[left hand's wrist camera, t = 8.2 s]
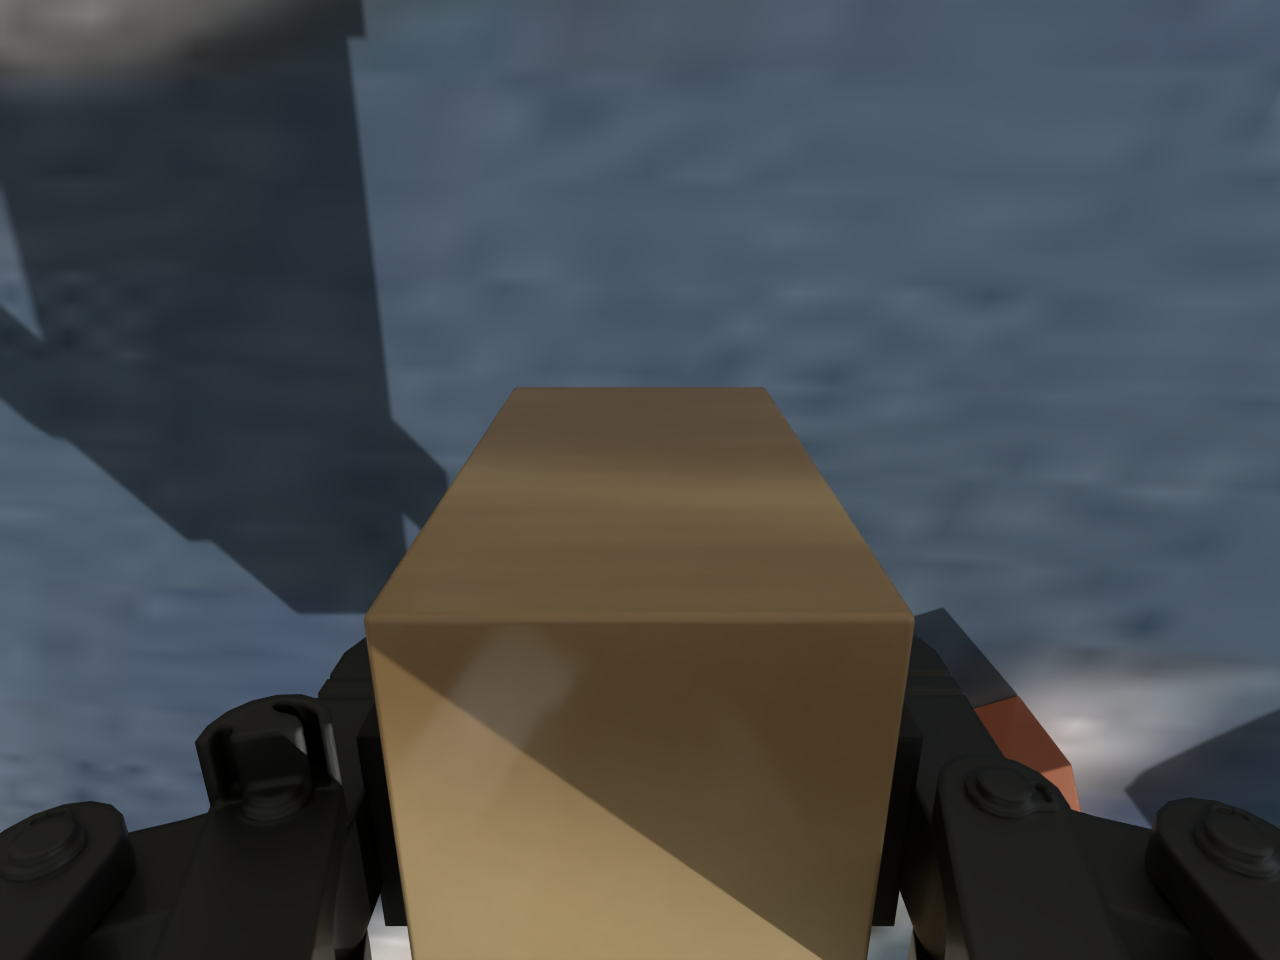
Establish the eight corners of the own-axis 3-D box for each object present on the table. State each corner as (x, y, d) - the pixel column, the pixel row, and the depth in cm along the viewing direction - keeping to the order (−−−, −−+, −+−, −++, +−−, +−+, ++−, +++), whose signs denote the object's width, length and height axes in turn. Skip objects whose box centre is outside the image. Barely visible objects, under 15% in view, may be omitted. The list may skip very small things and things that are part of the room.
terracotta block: (1018, 694, 31) (1071, 764, 27) (1035, 770, 32) (1088, 847, 28) (920, 723, 31) (958, 795, 27) (941, 797, 32) (981, 875, 29)
